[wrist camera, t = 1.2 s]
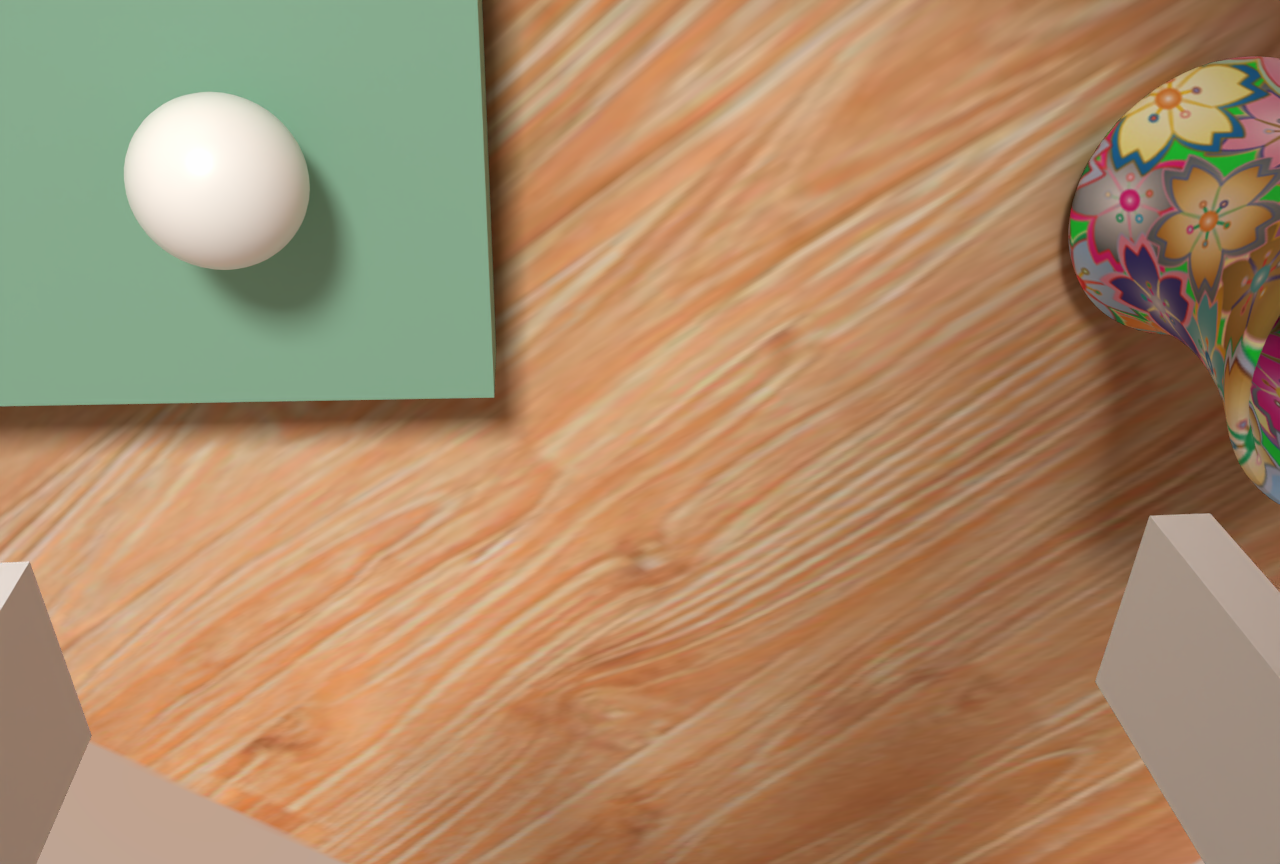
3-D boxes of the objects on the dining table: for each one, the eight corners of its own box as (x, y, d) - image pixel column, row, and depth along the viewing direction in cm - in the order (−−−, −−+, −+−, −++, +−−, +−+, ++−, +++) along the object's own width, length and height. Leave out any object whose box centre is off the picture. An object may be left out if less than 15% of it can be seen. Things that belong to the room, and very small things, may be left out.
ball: (137, 71, 26) (78, 119, 22) (311, 73, 26) (280, 121, 23) (169, 232, 28) (121, 298, 25) (330, 231, 28) (304, 297, 25)
